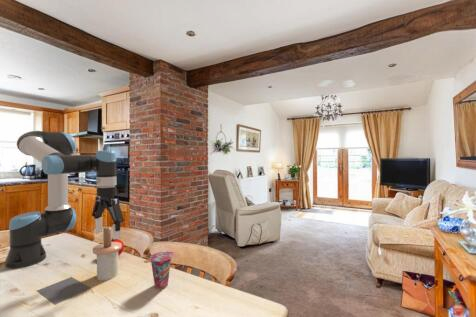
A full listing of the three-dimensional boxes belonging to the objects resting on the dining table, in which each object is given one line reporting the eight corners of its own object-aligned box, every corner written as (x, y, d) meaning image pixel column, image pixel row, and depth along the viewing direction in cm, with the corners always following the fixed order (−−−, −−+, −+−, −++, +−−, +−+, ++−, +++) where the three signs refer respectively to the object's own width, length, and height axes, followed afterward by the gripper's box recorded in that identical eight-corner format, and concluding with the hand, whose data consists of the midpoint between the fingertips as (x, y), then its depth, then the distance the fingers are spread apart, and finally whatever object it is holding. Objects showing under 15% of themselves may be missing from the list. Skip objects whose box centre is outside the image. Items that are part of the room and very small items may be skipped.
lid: (87, 250, 102) (87, 229, 101) (112, 242, 111) (112, 223, 111) (101, 257, 96) (101, 234, 95) (127, 247, 105) (126, 227, 105)
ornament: (123, 258, 121) (123, 239, 121) (103, 261, 118) (103, 241, 117) (124, 251, 129) (124, 233, 129) (105, 254, 126) (105, 235, 126)
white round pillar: (109, 282, 99) (109, 254, 98) (92, 280, 100) (92, 252, 100) (122, 273, 107) (122, 246, 106) (106, 271, 108) (106, 245, 108)
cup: (164, 293, 91) (163, 262, 91) (145, 289, 94) (145, 258, 94) (177, 280, 100) (177, 252, 100) (160, 277, 103) (160, 249, 103)
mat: (36, 292, 92) (36, 290, 92) (71, 278, 102) (71, 276, 102) (55, 306, 84) (54, 304, 84) (91, 289, 94) (91, 288, 94)
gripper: (82, 185, 106) (83, 232, 106) (115, 189, 93) (115, 244, 93) (99, 183, 112) (100, 228, 113) (132, 187, 99) (133, 238, 100)
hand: (107, 235), depth 103 cm, fingers open, 13 cm apart
